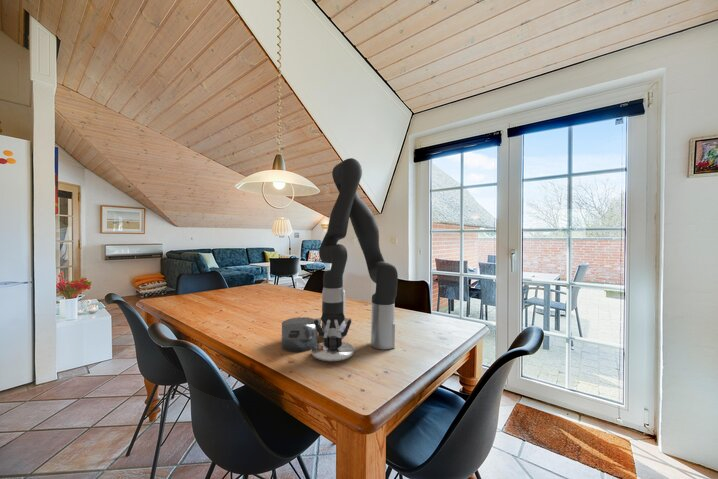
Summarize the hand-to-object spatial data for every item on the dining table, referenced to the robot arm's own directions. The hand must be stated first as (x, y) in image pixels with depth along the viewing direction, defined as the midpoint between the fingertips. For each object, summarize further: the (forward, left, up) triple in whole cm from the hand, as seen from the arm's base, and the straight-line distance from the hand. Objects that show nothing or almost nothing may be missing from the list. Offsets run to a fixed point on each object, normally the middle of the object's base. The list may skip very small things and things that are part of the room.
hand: (332, 347), depth 100 cm
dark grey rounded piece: (+15, -10, -4) cm, 18 cm away
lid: (0, 0, -2) cm, 2 cm away
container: (+3, -21, -4) cm, 22 cm away
